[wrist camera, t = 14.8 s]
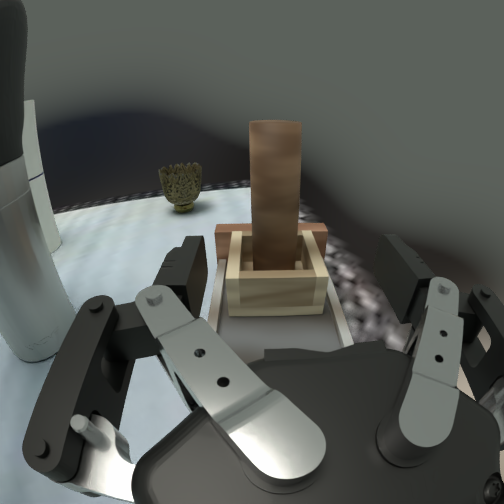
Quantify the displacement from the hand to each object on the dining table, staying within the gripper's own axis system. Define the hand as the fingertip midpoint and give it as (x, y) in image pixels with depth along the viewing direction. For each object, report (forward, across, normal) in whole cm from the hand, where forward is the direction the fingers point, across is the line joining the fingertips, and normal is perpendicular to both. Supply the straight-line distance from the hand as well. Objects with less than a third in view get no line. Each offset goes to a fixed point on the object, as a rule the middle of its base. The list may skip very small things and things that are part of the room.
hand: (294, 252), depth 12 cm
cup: (+35, +14, +12) cm, 40 cm away
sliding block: (+11, 0, +10) cm, 15 cm away
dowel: (+12, 0, +9) cm, 15 cm away
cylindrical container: (+22, +38, +12) cm, 46 cm away
